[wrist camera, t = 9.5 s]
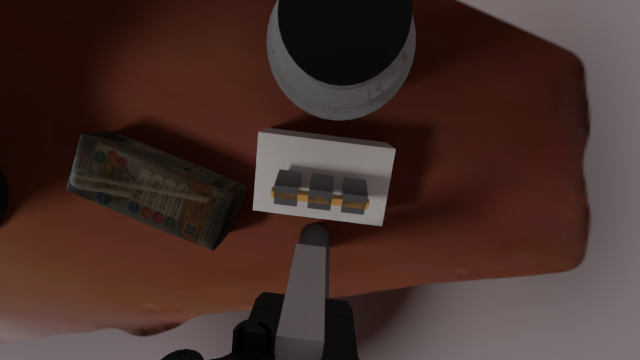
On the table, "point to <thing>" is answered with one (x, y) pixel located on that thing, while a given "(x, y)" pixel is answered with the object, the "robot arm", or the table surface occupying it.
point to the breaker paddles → (320, 192)
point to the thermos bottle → (341, 53)
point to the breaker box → (323, 170)
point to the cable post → (317, 237)
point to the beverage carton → (155, 188)
